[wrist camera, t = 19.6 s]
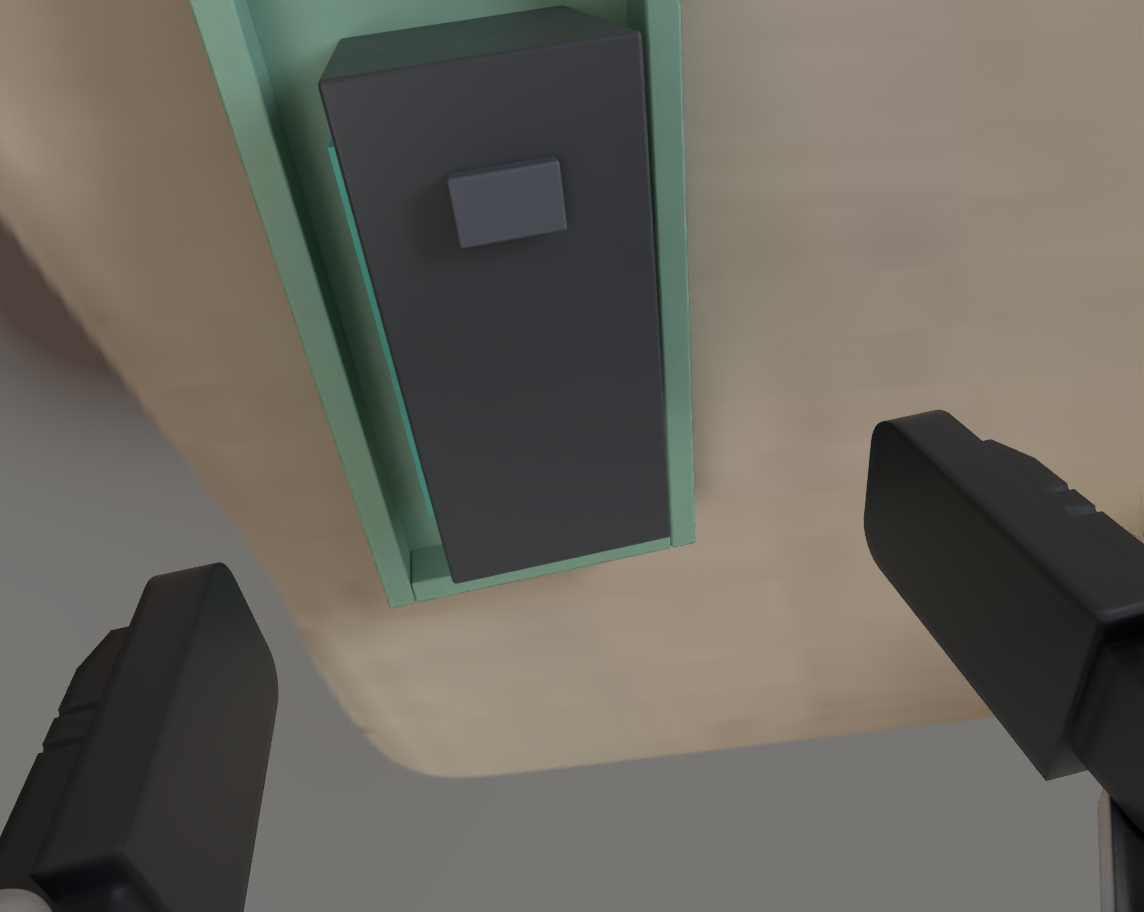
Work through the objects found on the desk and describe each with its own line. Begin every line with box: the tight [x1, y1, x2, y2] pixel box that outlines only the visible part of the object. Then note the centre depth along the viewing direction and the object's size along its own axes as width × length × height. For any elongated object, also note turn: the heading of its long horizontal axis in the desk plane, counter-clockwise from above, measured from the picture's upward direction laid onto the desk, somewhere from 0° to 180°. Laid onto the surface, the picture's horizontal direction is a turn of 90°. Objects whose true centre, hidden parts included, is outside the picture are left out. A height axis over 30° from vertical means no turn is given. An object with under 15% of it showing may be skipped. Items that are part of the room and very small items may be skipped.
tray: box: [189, 0, 695, 608], centre depth 17 cm, size 8×17×2 cm, turn 6°
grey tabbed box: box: [318, 5, 671, 584], centre depth 15 cm, size 5×9×6 cm, turn 7°
